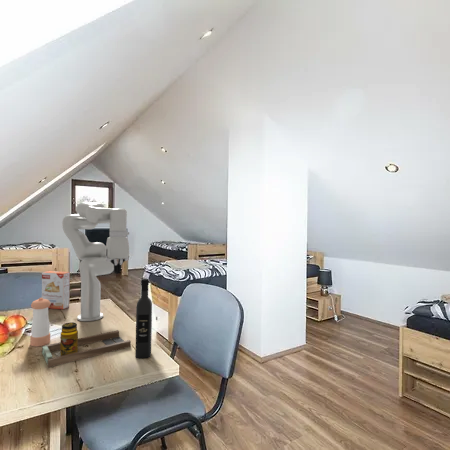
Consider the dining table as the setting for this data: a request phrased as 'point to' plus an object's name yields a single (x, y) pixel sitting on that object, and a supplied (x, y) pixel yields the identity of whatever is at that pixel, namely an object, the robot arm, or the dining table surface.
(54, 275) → the cracker box
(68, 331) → the condiment
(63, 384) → the dining table surface
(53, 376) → the dining table surface
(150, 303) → the wine bottle
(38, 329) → the pepper shaker
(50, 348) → the trap lane
